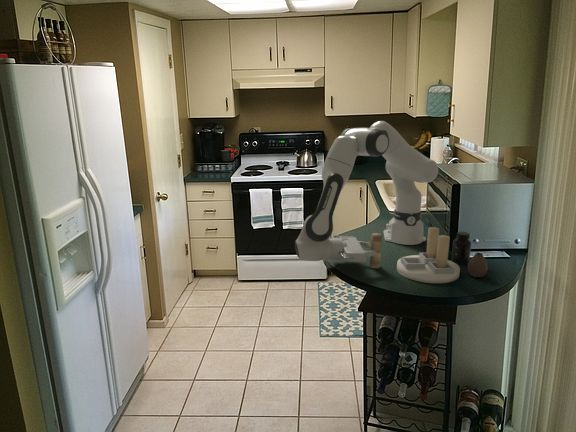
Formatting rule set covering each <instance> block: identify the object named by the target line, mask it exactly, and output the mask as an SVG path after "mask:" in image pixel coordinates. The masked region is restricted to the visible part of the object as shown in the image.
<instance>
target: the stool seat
mask: <svg viewBox="0 0 576 432" xmlns="http://www.w3.org/2000/svg"><path fill="white" fill-rule="evenodd" d="M427 231H428V232H427V239H426V252H419V254H414V255H413V254H411V255H407V256H406V255H405V256H403V257H400V258H399V259H398V260H397V263H396V272H397V273H398V274H400V276H403V278H406V279H410V280H411V281H416V282H420V283H427V284H446V283H447V284H448V283H451V282H454V281H457V280H458V279H459V277H460V273H461V268H460V265H459V264H456V263H454V262H452V260H449V259H448V258H449V252H450V250H449V249H450V242H451V241H450V240H451V239H450V236H449V235H445V234H440V228H438V227H436V226H431V227H428V230H427Z"/></svg>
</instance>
